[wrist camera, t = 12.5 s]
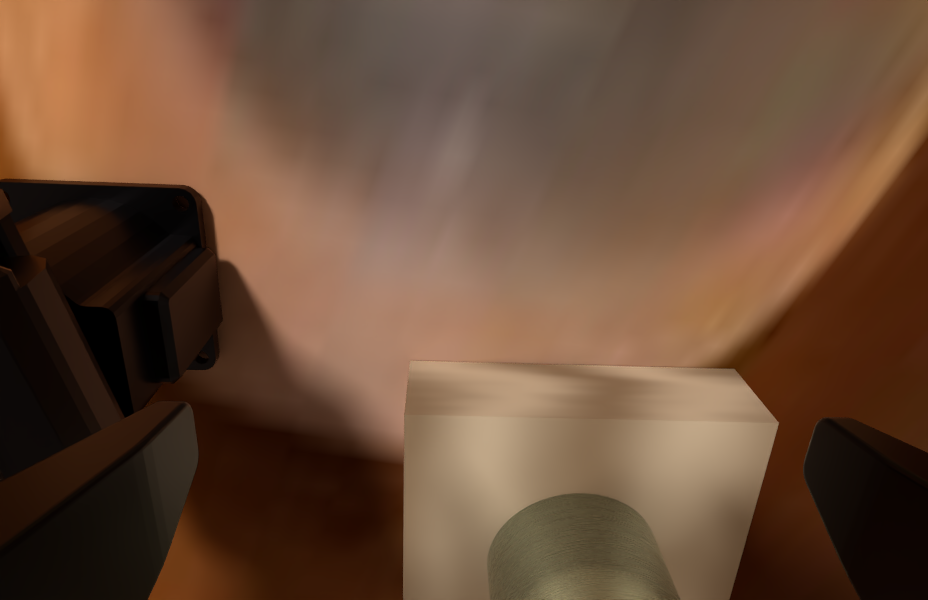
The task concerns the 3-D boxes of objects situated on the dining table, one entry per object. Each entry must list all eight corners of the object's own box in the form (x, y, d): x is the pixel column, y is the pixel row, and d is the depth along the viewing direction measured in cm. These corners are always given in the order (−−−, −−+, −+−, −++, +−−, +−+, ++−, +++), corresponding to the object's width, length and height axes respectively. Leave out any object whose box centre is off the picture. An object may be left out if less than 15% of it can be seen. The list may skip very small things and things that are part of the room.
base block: (407, 602, 28) (402, 676, 25) (410, 360, 24) (404, 414, 20) (678, 605, 29) (707, 678, 26) (734, 369, 24) (778, 423, 21)
